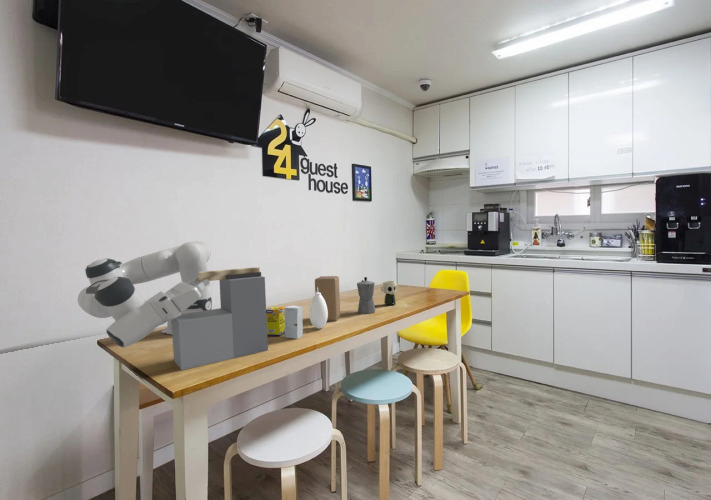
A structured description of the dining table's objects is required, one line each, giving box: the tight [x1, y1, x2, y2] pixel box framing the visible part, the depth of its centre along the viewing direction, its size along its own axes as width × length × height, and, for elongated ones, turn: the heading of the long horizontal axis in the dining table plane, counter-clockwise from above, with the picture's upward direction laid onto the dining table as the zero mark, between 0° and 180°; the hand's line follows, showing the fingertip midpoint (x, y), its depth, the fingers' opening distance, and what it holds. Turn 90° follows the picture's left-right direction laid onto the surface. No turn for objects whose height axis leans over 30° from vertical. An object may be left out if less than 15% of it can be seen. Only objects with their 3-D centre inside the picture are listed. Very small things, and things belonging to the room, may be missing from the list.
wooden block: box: [314, 275, 341, 322], centre depth 170 cm, size 10×10×20 cm
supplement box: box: [266, 306, 286, 337], centre depth 146 cm, size 6×6×11 cm
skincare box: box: [284, 305, 304, 340], centre depth 142 cm, size 6×4×12 cm
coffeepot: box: [356, 276, 376, 315], centre depth 184 cm, size 15×9×18 cm, turn 12°
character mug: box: [380, 280, 399, 306], centre depth 200 cm, size 11×7×13 cm, turn 117°
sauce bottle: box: [308, 287, 328, 330], centre depth 154 cm, size 8×8×18 cm
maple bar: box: [198, 266, 261, 282], centre depth 124 cm, size 20×3×3 cm, turn 127°
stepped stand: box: [171, 271, 269, 371], centre depth 122 cm, size 28×12×28 cm, turn 127°
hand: (204, 279), depth 118 cm, fingers open, 8 cm apart
